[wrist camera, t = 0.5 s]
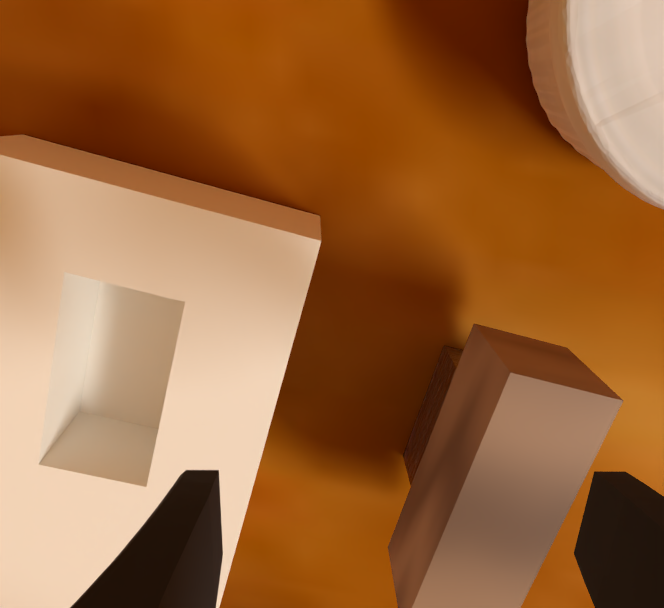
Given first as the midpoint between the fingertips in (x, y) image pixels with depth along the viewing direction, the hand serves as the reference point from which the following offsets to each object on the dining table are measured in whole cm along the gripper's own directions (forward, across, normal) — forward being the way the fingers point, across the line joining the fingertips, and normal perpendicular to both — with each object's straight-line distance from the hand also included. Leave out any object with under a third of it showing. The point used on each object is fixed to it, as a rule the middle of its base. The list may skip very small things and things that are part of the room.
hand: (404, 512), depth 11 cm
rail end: (+10, -4, +4) cm, 12 cm away
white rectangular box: (+10, +8, +4) cm, 14 cm away
